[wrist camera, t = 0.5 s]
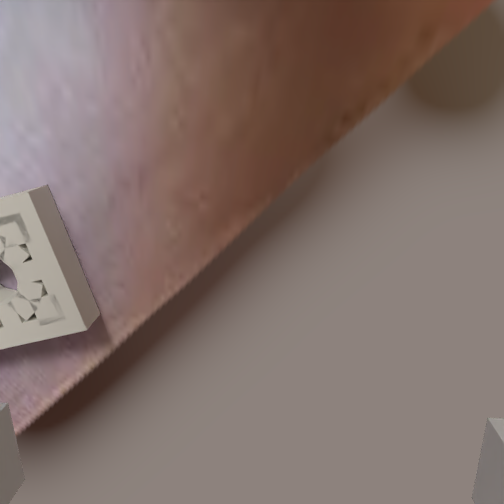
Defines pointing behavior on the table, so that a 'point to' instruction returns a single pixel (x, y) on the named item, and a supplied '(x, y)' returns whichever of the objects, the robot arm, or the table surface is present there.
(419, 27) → the table surface
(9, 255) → the bore block
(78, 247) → the table surface
